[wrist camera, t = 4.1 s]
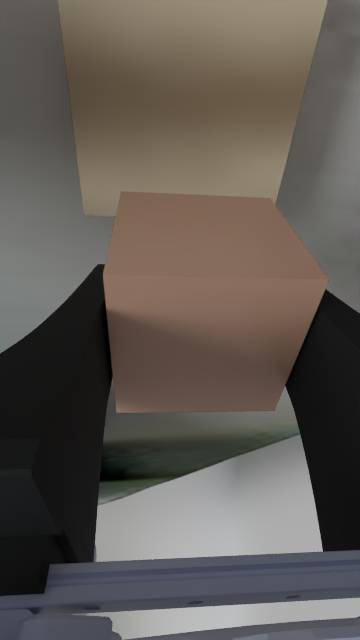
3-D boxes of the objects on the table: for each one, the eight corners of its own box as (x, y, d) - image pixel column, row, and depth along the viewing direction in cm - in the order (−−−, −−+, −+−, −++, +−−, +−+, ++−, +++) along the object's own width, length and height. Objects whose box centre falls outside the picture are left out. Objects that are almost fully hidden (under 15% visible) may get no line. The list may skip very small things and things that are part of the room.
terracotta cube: (243, 312, 14) (274, 411, 11) (126, 311, 14) (116, 412, 10) (270, 197, 11) (329, 279, 7) (120, 191, 11) (102, 274, 7)
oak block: (256, 200, 19) (270, 223, 16) (93, 192, 18) (84, 215, 16) (307, -31, 13) (339, -45, 11) (68, -58, 12) (47, -79, 10)
